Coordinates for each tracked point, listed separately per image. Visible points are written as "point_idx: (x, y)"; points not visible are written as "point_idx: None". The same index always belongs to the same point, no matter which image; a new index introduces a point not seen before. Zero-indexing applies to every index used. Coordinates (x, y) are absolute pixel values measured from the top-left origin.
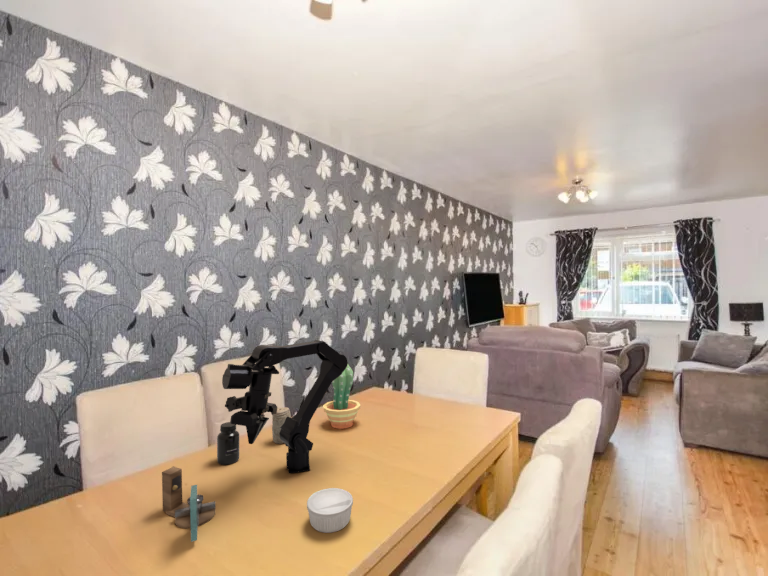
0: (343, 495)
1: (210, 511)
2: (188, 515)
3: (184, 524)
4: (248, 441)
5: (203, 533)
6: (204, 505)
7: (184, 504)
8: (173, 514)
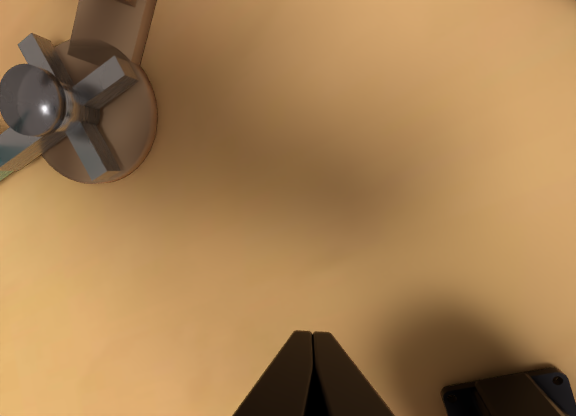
0: None
1: None
2: None
3: None
4: (286, 342)
5: (28, 194)
6: (74, 141)
7: (133, 20)
8: (79, 19)
